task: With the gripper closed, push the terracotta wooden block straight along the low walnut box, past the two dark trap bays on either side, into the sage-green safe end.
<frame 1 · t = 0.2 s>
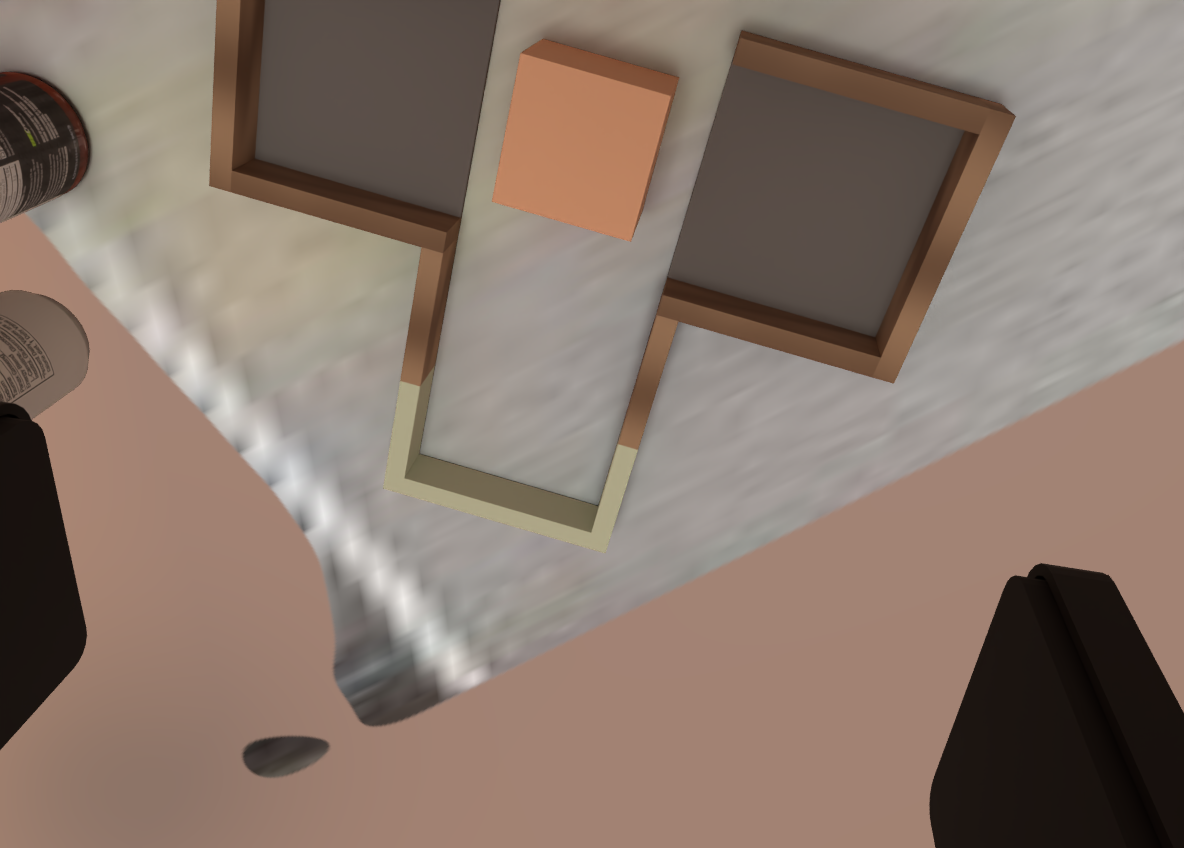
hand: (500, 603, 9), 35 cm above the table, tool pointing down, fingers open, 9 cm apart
block: (594, 127, 42), on the table
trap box: (559, 265, 45), on the table
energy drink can: (48, 335, 52), on the table
supplement bottle: (38, 133, 46), on the table
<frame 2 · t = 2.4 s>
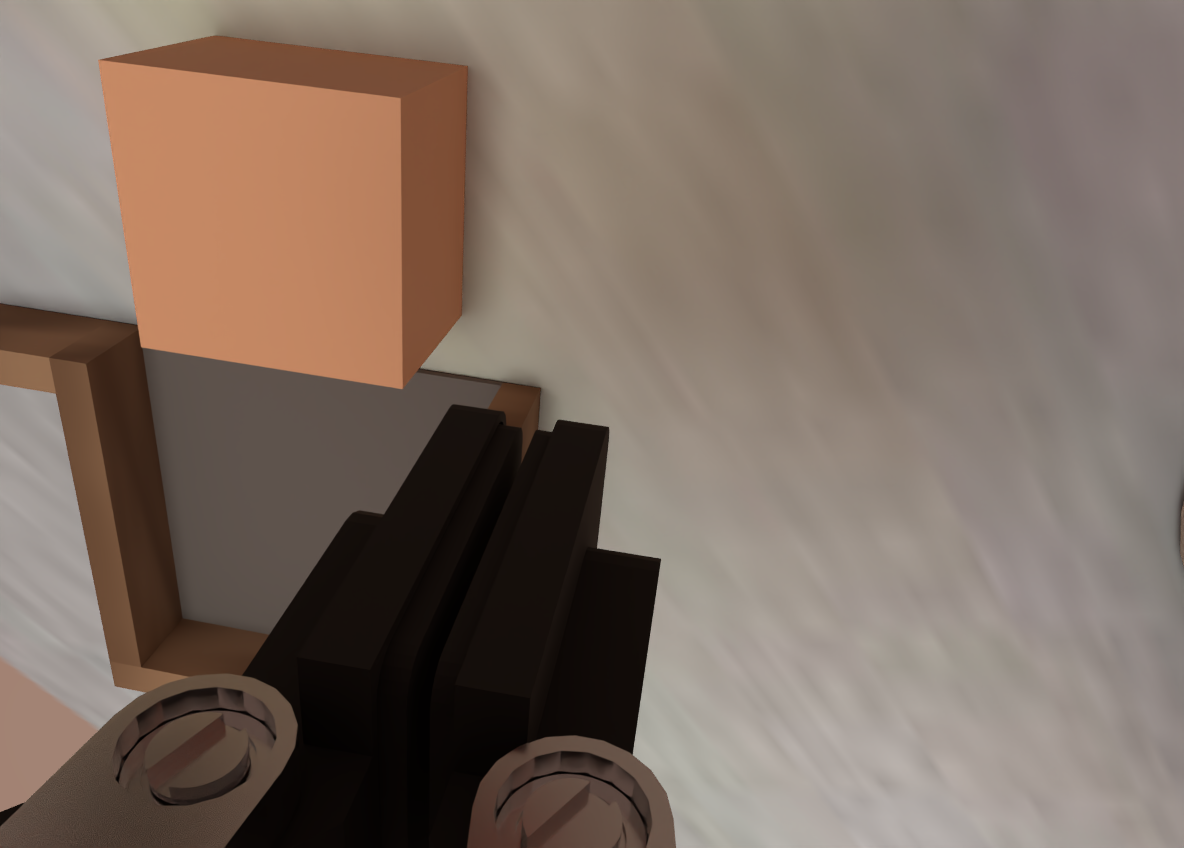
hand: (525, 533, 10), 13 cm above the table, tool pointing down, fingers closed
block: (346, 180, 23), on the table
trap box: (78, 133, 24), on the table
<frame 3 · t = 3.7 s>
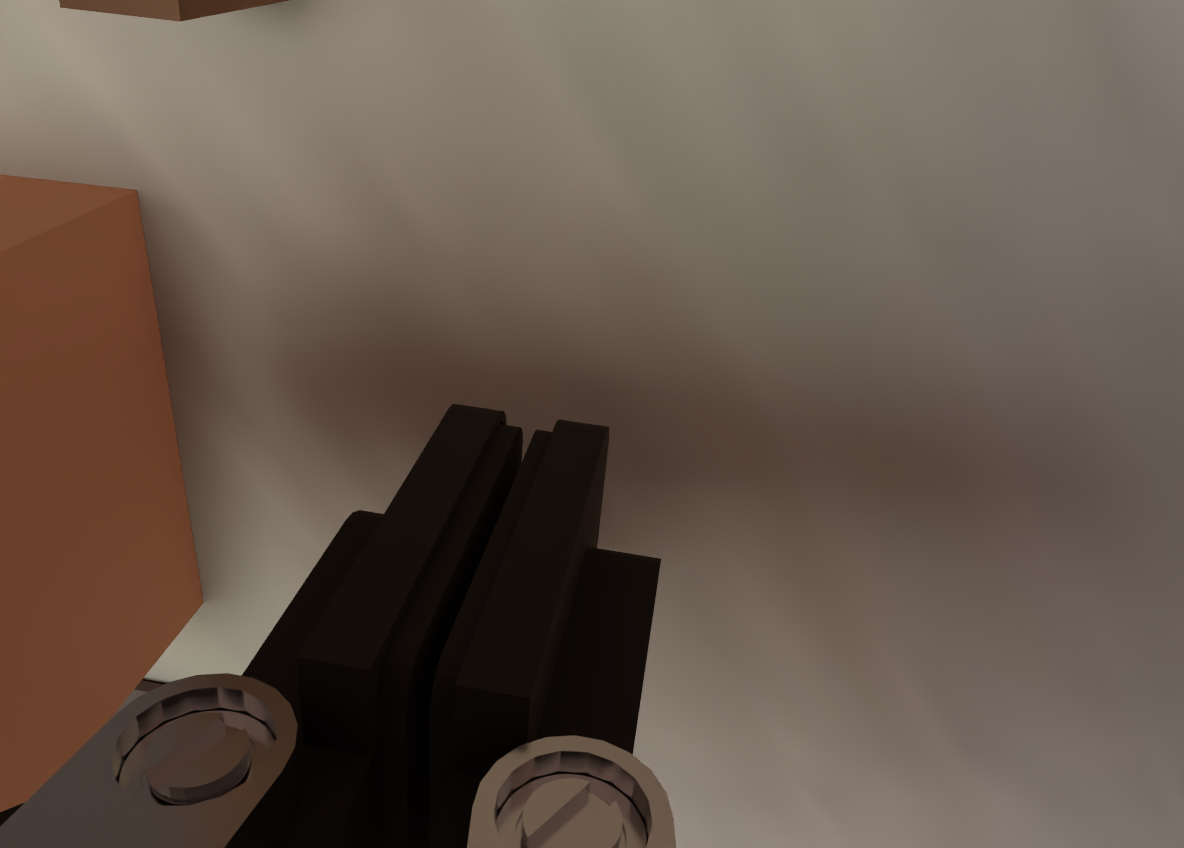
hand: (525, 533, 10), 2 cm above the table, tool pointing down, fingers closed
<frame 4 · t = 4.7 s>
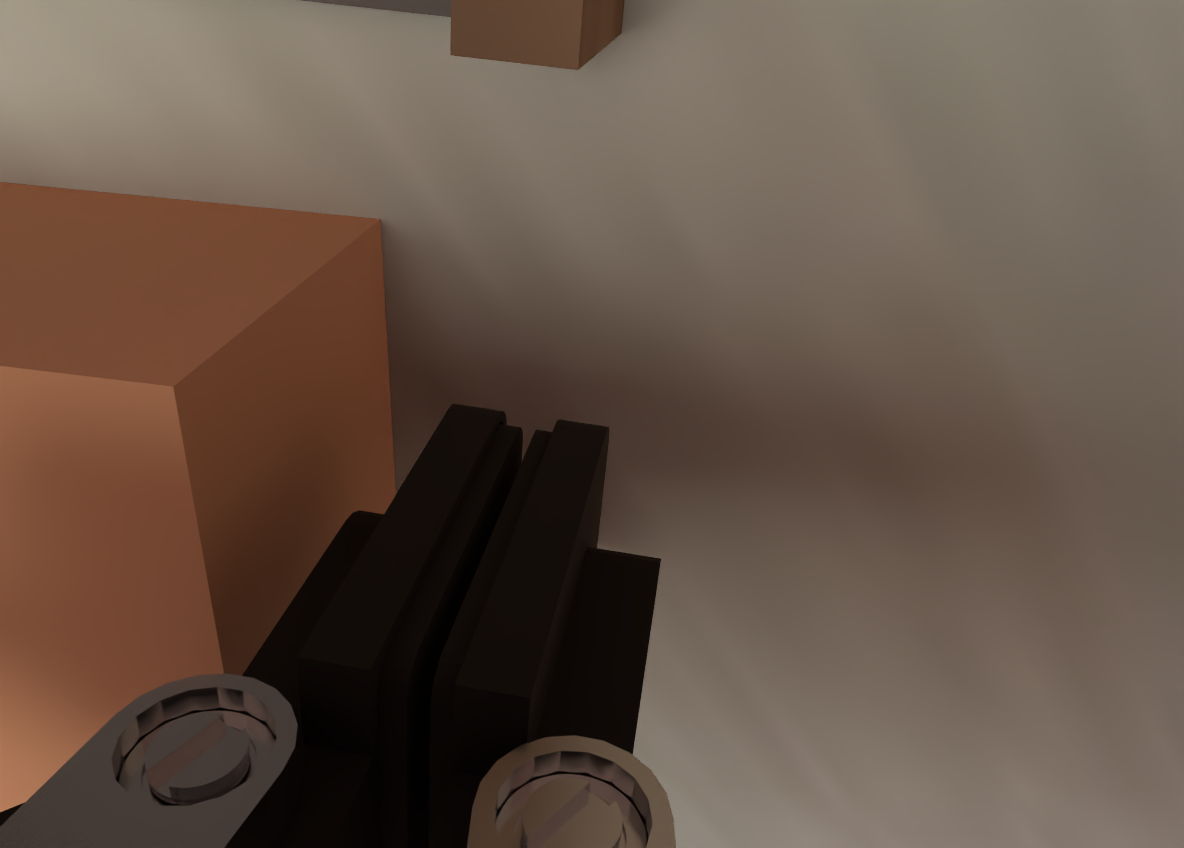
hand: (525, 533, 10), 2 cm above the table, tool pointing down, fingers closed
block: (178, 417, 13), on the table, touching gripper
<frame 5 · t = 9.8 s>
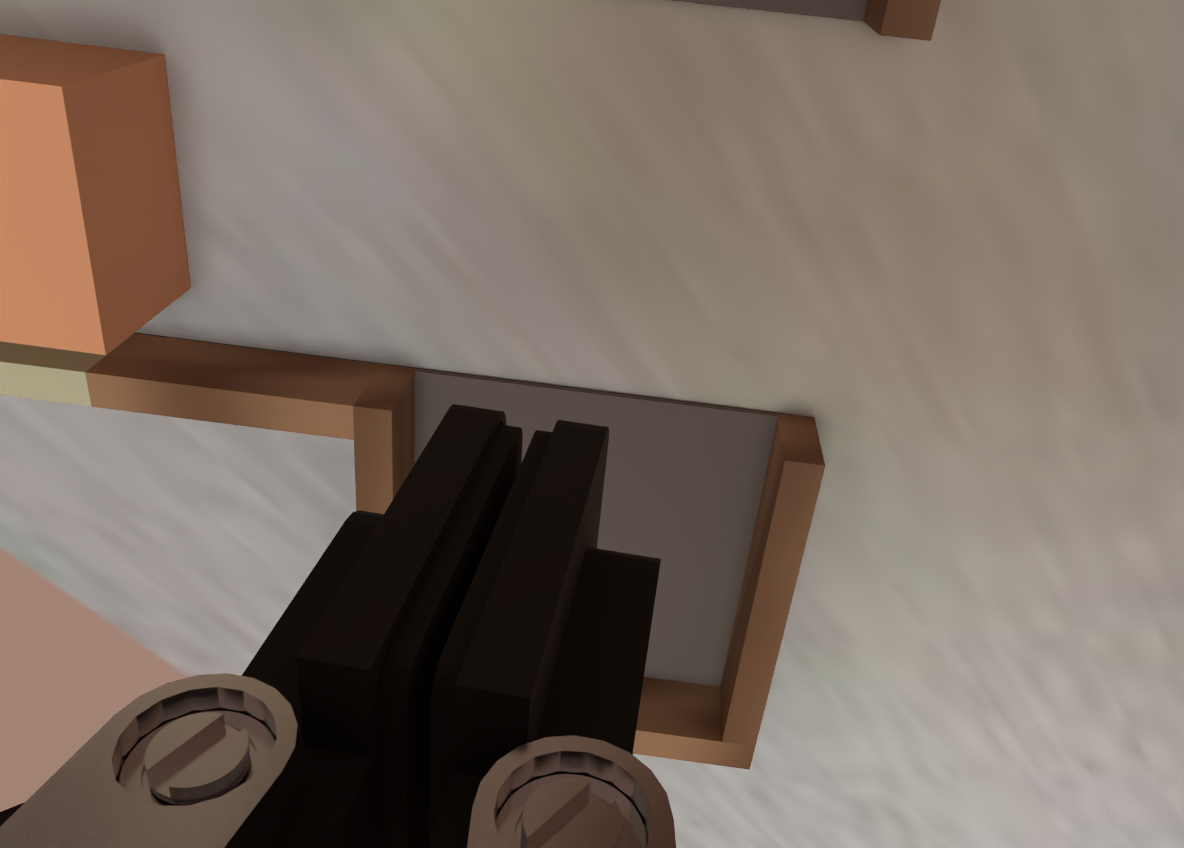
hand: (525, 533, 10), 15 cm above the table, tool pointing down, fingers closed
block: (67, 162, 25), on the table
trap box: (377, 185, 24), on the table
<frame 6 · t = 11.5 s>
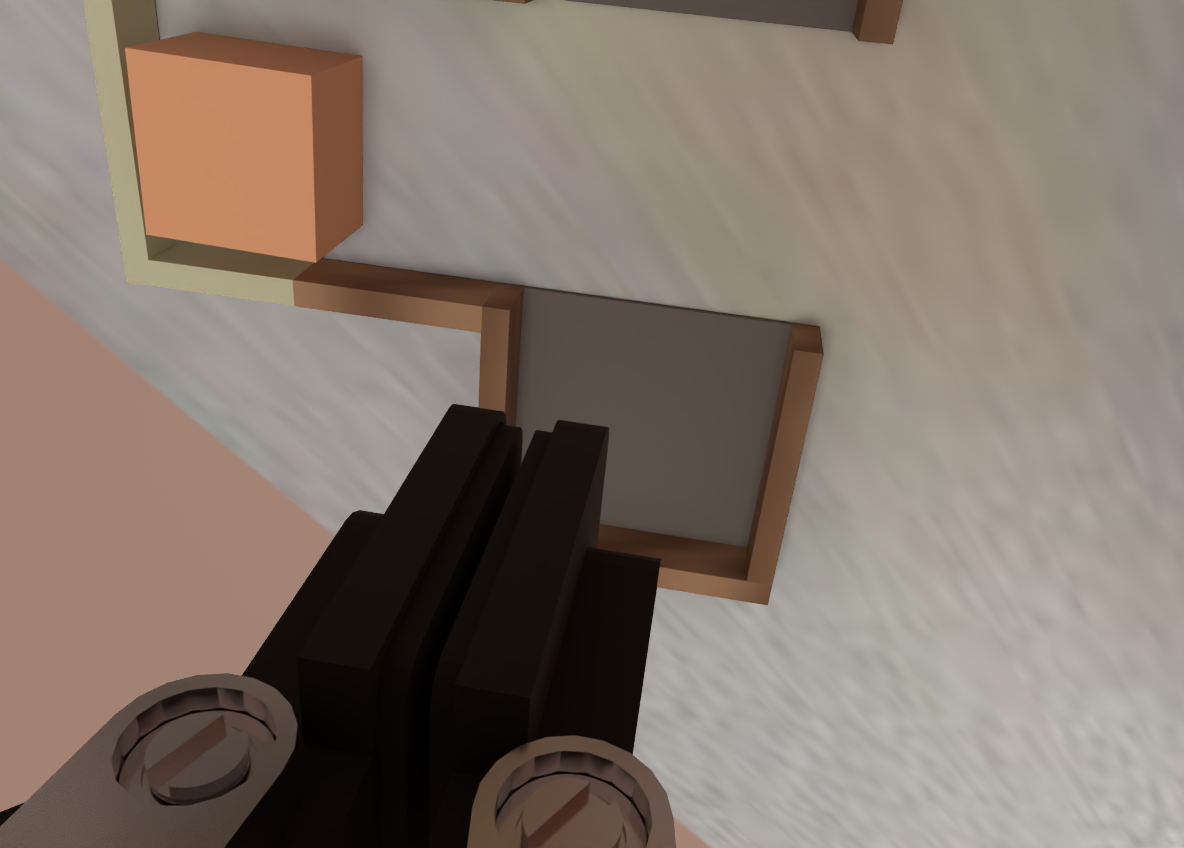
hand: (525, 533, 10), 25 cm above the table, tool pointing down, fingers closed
block: (284, 131, 35), on the table
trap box: (504, 148, 34), on the table
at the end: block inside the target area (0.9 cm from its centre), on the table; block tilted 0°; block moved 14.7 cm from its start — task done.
